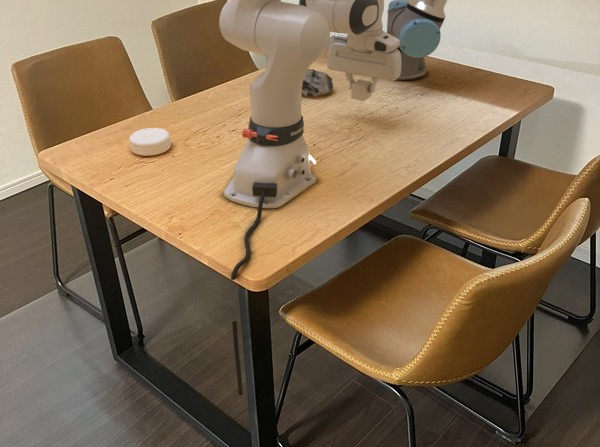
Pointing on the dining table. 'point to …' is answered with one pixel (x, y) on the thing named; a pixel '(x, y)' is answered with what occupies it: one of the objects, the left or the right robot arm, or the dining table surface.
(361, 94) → the light grey cube
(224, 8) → the left robot arm
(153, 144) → the white round disc
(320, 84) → the rock
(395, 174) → the dining table surface
